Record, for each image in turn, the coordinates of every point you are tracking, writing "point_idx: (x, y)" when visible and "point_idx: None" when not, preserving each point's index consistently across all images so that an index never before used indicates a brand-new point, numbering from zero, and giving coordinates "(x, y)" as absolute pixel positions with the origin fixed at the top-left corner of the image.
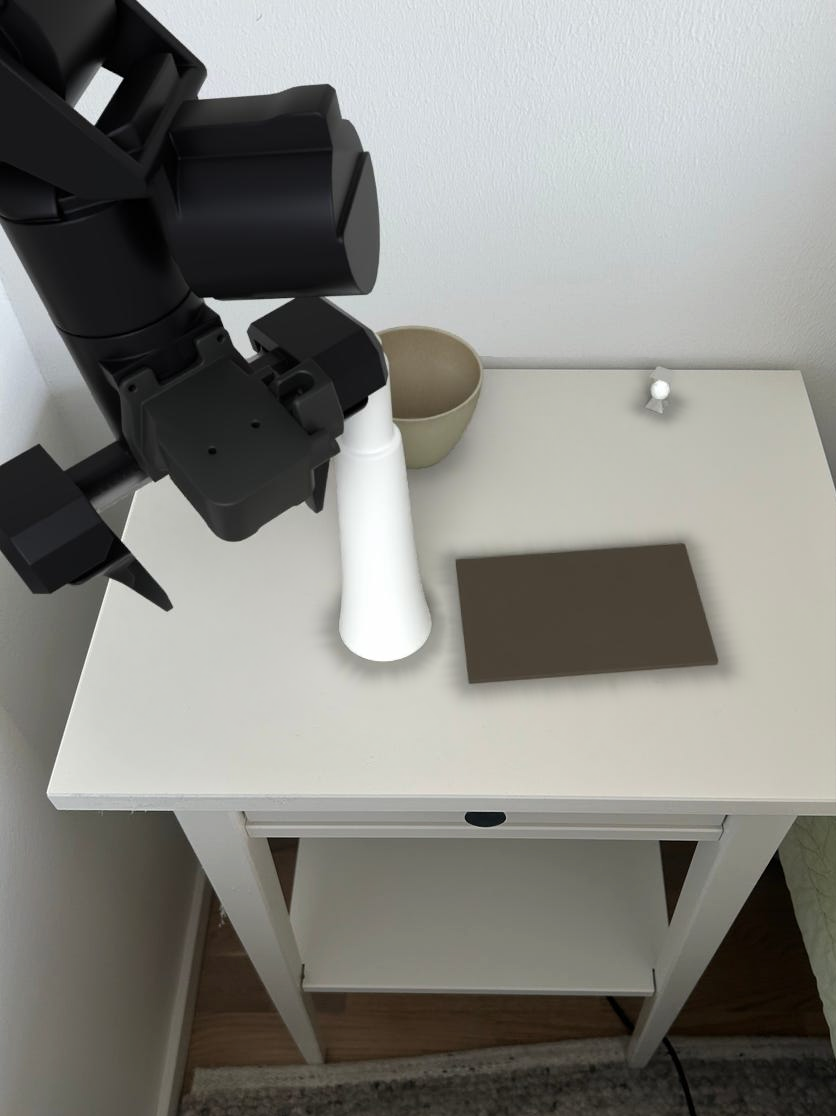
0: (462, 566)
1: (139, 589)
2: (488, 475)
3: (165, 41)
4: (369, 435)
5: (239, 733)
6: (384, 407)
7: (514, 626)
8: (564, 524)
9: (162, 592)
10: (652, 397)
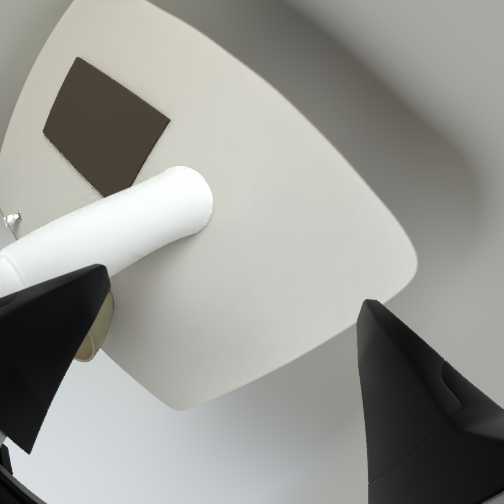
0: None
1: (429, 351)
2: None
3: None
4: None
5: (324, 208)
6: None
7: (121, 138)
8: (67, 186)
9: (385, 325)
10: (16, 220)
